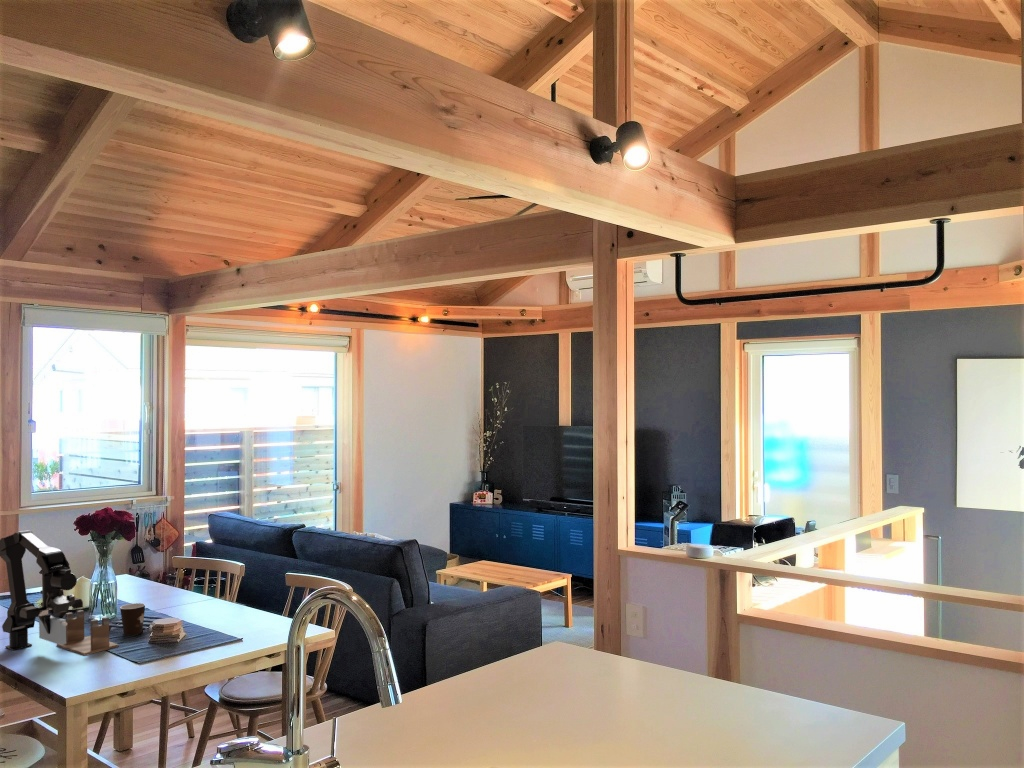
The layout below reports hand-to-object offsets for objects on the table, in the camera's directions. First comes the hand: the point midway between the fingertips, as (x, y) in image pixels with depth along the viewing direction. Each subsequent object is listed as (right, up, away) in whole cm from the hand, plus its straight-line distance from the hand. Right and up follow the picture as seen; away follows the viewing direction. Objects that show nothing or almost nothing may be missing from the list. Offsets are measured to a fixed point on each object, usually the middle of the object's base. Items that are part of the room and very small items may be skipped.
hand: (52, 632), depth 287 cm
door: (0, -3, 0) cm, 3 cm away
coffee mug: (+17, -8, +27) cm, 33 cm away
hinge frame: (+7, -8, +10) cm, 14 cm away
